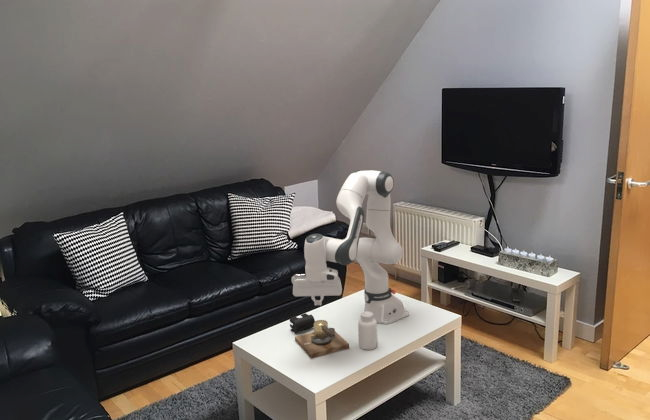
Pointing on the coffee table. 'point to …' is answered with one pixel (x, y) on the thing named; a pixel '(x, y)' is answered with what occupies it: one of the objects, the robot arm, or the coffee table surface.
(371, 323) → the pill bottle
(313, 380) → the coffee table surface
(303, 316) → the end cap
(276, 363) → the coffee table surface
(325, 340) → the post collar
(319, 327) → the crank handle
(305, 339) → the base plate
